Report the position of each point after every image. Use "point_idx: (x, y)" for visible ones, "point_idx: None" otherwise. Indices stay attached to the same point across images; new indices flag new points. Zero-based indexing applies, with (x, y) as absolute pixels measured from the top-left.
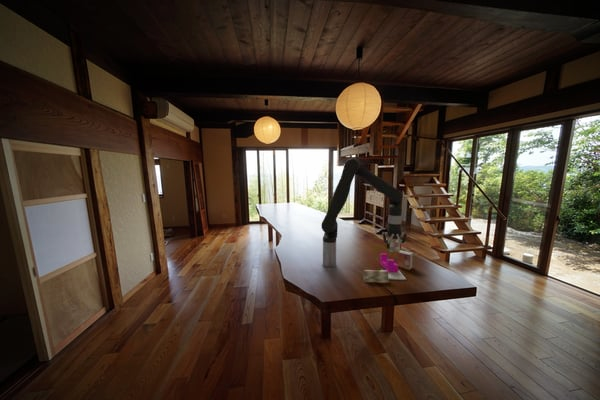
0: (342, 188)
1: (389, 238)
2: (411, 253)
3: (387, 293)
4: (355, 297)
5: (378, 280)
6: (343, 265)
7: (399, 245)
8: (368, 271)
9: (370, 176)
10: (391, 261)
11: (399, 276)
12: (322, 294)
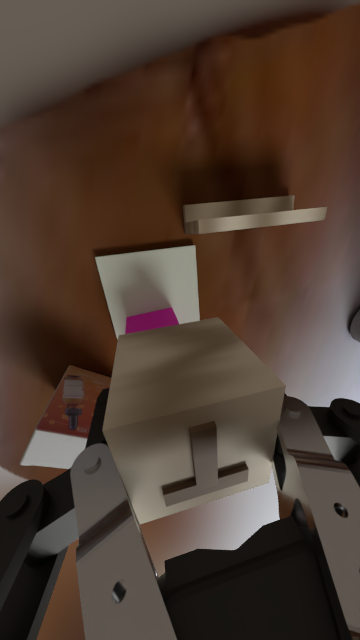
0: None
1: (358, 504)
2: (28, 452)
3: (213, 67)
4: None
5: (233, 205)
6: (321, 331)
7: (117, 391)
8: (303, 209)
9: None
10: None
11: (124, 277)
12: None
